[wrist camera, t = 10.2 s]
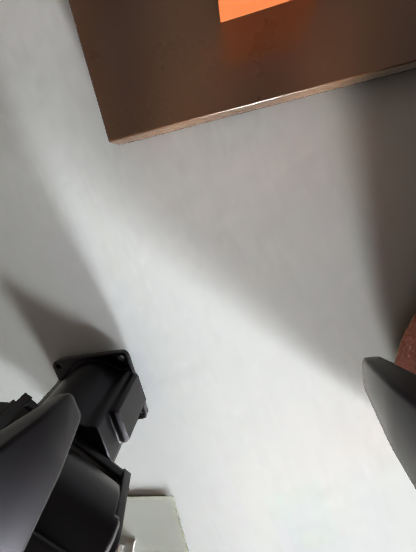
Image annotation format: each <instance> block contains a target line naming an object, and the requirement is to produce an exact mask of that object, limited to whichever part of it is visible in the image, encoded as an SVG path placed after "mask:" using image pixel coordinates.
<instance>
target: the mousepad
mask: <svg viewBox="0 0 416 552" xmlns="http://www.w3.org/2000/svg"><path fill="white" fill-rule="evenodd" d="M116 552H189V551H188V548H187V544H186V541H185V537H184V533H183V530H182V526H181V523H180V519H179V516H178V512H177V508H176V505H175V501H174V498H173V496H149V497H127V501H126V508H125V514H124V520H123V527H122V532H121V537H120V541H119V544H118V547H117V550H116Z"/></svg>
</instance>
